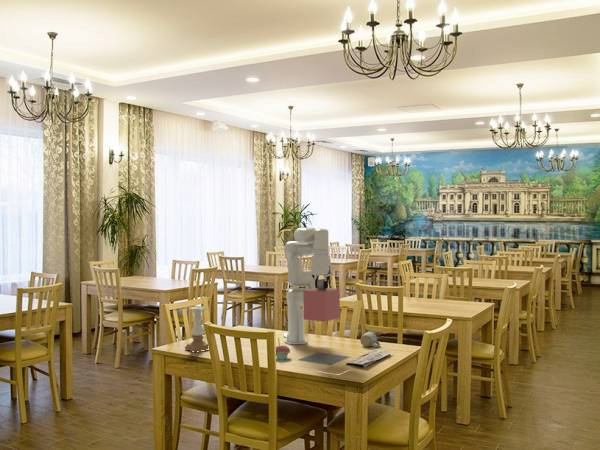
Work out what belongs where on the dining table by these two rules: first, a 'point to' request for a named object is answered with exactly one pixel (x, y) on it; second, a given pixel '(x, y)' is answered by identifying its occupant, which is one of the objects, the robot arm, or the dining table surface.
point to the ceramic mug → (369, 340)
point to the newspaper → (370, 357)
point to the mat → (324, 358)
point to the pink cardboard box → (321, 303)
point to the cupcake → (282, 351)
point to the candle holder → (197, 331)
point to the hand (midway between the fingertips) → (321, 287)
